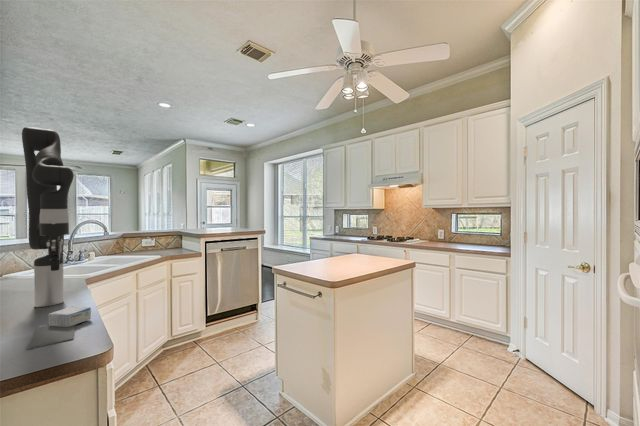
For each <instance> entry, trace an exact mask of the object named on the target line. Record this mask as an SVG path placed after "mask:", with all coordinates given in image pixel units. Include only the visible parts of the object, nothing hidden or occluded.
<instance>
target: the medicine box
mask: <svg viewBox="0 0 640 426" xmlns="http://www.w3.org/2000/svg"><path fill="white" fill-rule="evenodd" d="M91 315H92V308H91V307H89V306H76V305H75V306H69V307H66V308H65V307H64V308H63V309H59V310H57V311H53V312H50V313H48V325H49V326H57V327H70V326H73V325H75V326H76V325H79V324H80V323H81V324H82V323H83V322H84V323H85V322H86V321H89V320H91V319H92V318H91V317H92V316H91Z"/></svg>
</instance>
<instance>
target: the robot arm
mask: <svg viewBox="0 0 640 426" xmlns="http://www.w3.org/2000/svg"><path fill="white" fill-rule="evenodd" d="M21 130H22V131H21V140H22V141H21V142H22V148H23V155H24V161H25V162H24V163H25V175H26V176H25V181H26V182H25V183H26V199H27V206H28V207H27V208H28V244H29V247H30V249H31V250H47V254H46V255H43V256H40V257H37V258H36V259H34V261H33V266H34V268H33V270H34V271H33V275H34V276H33V277H34V278H33V279H34V283H33V284H34V289H33V290H34V302H33V303H34V307H36V308H41V307H42V308H43V307H49V306H57V305H58V304H62V303H64V301H65V298H64V297H65V296H64V293H65V288H64V280H65V279H64V242H65V236H67V235H68V234H69V233H70V231H69V230H70V228H69V227H70V225H69V223H70V221H69V220H70V219H69V212H68V199H69V198H68V196H69V191H70V188H71V185H72V183H73V180H74V176H75V175H74V172H73V169H71V168H70V167H68V166H64V163H63V160H62V156H61V155H62V148H61V147H62V146H61V145H62V144H61V138H60V135H59V133H58V132H57V131H56V130H53V129H48V128H47V129H46V128H40V127H32V126H31V127H30V126H24V127H23V128H22V129H21ZM36 152H37V153H36ZM35 153H36V154H35ZM58 187H59V188H58Z"/></svg>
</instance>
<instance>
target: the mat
mask: <svg viewBox="0 0 640 426" xmlns="http://www.w3.org/2000/svg"><path fill="white" fill-rule="evenodd" d="M75 328H76V325H73V326H70V327H57V326H49V324H48V325H42V326H37V327H36V328H35V330H34V332H33V334H32V335H31V336H32V337H31V339H30V341H29V343H28V345H27V348H26V350H27V351H28V350H32V349H38V348H42V347H45V346H50V345H56V344H60V343H64V342H68V341H73V340H74V336H75Z"/></svg>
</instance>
